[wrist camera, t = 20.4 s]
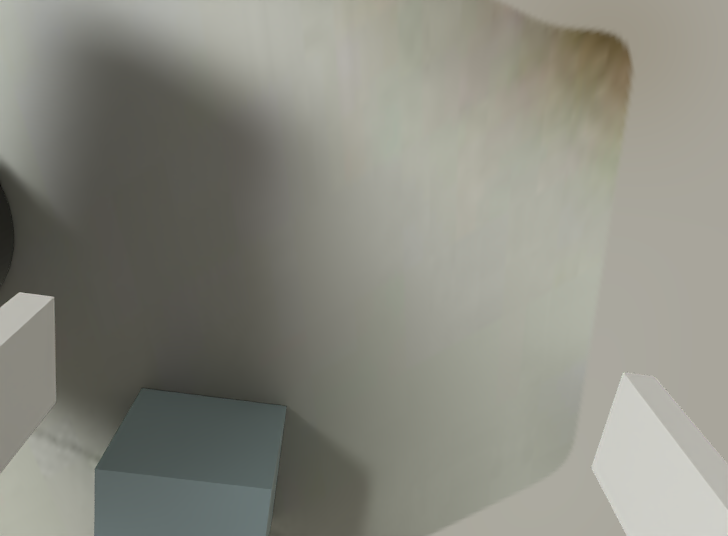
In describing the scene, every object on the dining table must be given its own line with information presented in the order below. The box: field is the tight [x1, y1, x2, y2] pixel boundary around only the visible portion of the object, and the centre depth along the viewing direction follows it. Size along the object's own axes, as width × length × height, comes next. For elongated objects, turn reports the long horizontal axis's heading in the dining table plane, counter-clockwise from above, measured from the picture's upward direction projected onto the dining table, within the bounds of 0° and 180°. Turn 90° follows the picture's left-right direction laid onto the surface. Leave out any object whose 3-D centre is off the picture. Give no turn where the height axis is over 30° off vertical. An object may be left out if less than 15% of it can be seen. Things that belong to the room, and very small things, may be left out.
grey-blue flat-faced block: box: [94, 388, 287, 536], centre depth 44 cm, size 10×10×9 cm
